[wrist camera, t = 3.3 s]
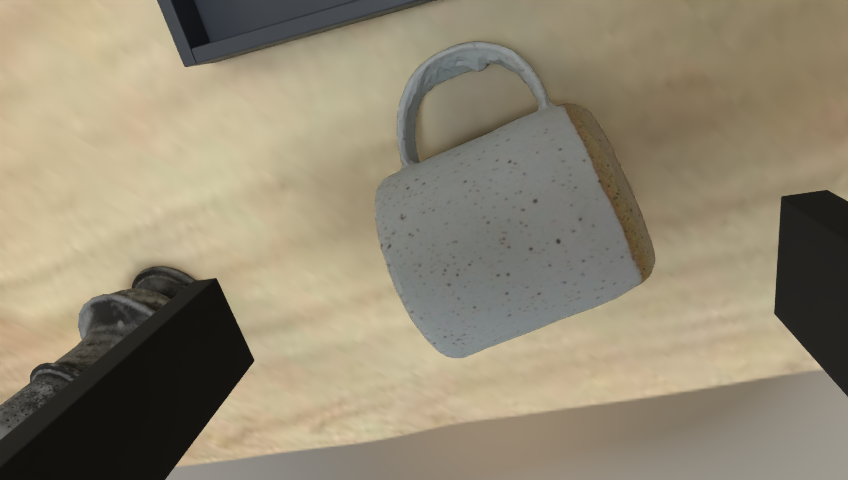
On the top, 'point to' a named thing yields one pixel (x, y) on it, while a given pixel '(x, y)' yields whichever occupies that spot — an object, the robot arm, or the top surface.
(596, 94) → the top surface
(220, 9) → the tray
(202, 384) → the robot arm
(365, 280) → the top surface
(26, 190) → the top surface
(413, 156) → the ceramic mug
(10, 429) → the dark chess piece
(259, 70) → the top surface
